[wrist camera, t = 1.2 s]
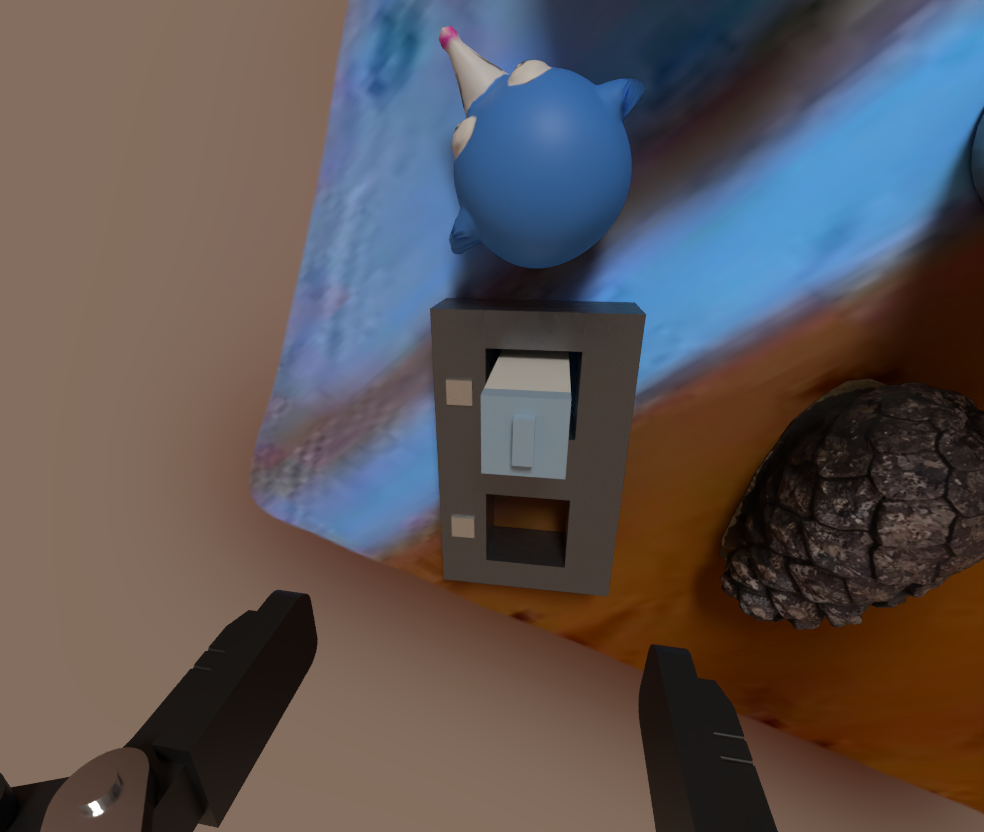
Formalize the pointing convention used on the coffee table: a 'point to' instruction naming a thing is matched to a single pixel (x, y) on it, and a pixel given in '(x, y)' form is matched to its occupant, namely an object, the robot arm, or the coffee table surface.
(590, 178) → the blue mole toy
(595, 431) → the panel
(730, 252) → the coffee table surface
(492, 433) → the plug
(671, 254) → the coffee table surface
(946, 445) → the pine cone
